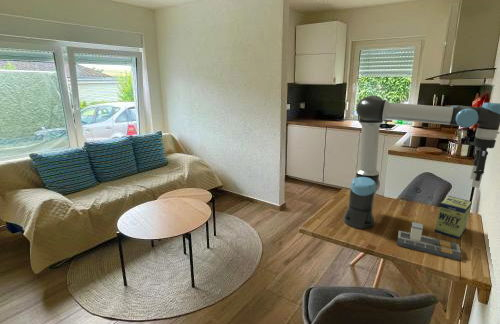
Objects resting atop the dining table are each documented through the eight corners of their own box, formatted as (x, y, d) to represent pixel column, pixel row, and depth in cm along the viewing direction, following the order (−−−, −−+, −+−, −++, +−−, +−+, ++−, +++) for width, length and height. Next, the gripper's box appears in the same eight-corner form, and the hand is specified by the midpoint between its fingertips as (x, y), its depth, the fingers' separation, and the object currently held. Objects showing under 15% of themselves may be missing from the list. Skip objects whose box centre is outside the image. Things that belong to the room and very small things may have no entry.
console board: (396, 245, 134) (397, 239, 134) (398, 233, 144) (398, 228, 144) (460, 260, 123) (461, 254, 123) (456, 247, 134) (457, 241, 133)
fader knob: (409, 239, 135) (412, 226, 133) (409, 235, 139) (412, 222, 137) (420, 242, 133) (422, 228, 131) (420, 237, 137) (422, 224, 135)
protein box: (434, 232, 147) (439, 203, 143) (442, 222, 157) (448, 195, 153) (458, 240, 140) (465, 210, 135) (465, 229, 150) (472, 200, 146)
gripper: (499, 143, 119) (487, 192, 125) (493, 135, 139) (482, 177, 145) (476, 141, 123) (465, 188, 129) (473, 133, 143) (463, 174, 149)
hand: (474, 183), depth 137 cm, fingers open, 13 cm apart
